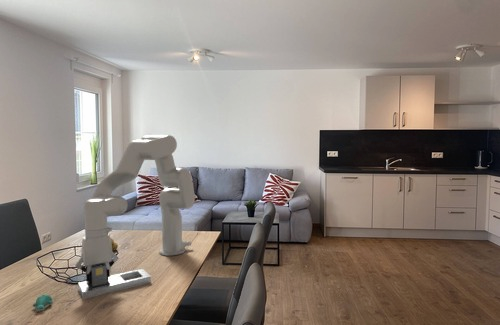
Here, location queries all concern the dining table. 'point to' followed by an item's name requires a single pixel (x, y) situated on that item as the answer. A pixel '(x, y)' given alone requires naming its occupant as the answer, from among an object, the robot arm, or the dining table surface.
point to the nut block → (98, 275)
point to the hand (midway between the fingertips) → (98, 280)
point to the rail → (115, 283)
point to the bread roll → (113, 245)
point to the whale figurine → (43, 302)
